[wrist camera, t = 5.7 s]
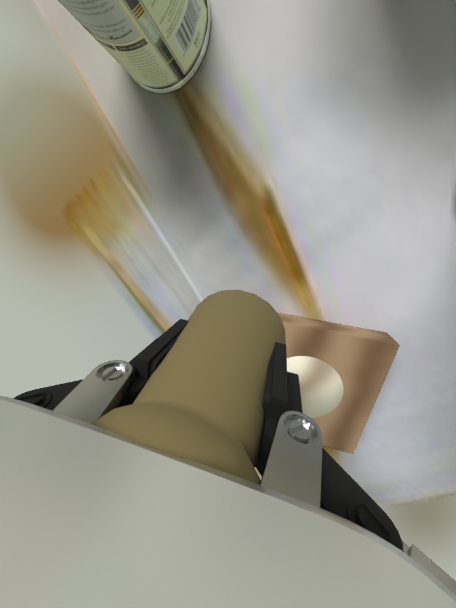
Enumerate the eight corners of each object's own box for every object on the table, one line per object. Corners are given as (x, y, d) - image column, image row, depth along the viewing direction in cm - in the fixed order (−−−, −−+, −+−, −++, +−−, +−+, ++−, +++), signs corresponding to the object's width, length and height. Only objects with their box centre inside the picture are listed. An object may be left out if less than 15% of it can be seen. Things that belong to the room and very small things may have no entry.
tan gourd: (261, 393, 14) (207, 801, 4) (178, 354, 15) (-50, 623, 5) (304, 316, 12) (432, 792, 2) (206, 273, 13) (-124, 451, 2)
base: (386, 332, 25) (400, 345, 22) (346, 433, 31) (353, 454, 28) (251, 308, 28) (247, 316, 25) (236, 404, 34) (231, 420, 31)
